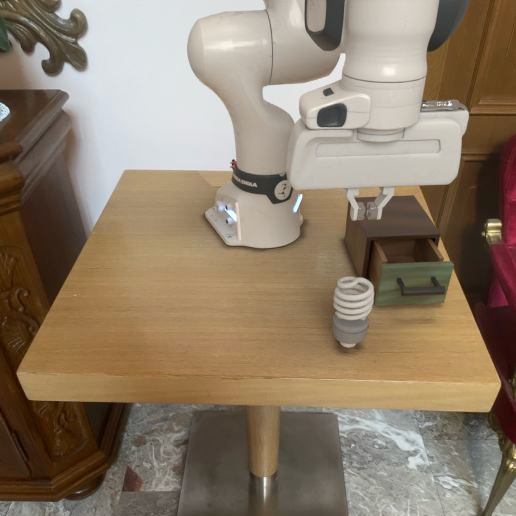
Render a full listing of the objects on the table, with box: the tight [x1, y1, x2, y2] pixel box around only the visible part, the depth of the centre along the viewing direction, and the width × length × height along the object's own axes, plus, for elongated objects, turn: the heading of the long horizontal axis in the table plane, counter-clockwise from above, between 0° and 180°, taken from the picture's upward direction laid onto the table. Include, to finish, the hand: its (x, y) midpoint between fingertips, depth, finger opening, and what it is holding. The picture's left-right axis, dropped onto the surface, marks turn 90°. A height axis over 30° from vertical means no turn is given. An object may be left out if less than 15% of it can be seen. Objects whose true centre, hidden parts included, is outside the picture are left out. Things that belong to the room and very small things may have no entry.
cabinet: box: [343, 194, 442, 283], centre depth 97 cm, size 16×13×9 cm
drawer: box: [367, 238, 455, 307], centre depth 88 cm, size 19×11×7 cm, turn 4°
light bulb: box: [331, 276, 375, 349], centre depth 76 cm, size 6×6×12 cm
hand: (365, 218), depth 66 cm, fingers closed
